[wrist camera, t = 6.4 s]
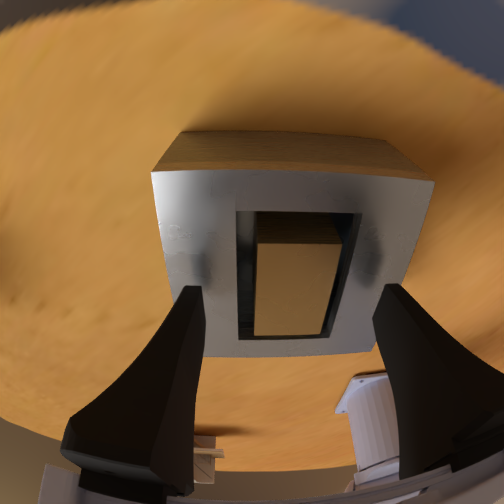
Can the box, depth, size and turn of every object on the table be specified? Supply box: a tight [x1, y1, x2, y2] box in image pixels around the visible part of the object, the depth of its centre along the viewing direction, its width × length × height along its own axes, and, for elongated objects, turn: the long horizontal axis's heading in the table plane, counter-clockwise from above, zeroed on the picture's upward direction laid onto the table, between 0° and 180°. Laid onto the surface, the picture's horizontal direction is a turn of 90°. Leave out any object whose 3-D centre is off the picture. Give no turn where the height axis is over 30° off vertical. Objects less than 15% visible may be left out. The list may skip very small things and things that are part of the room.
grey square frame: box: [151, 131, 435, 357], centre depth 15 cm, size 10×10×5 cm
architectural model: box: [194, 435, 224, 484], centre depth 32 cm, size 3×7×7 cm, turn 90°
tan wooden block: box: [252, 211, 342, 336], centre depth 14 cm, size 3×5×5 cm, turn 179°
